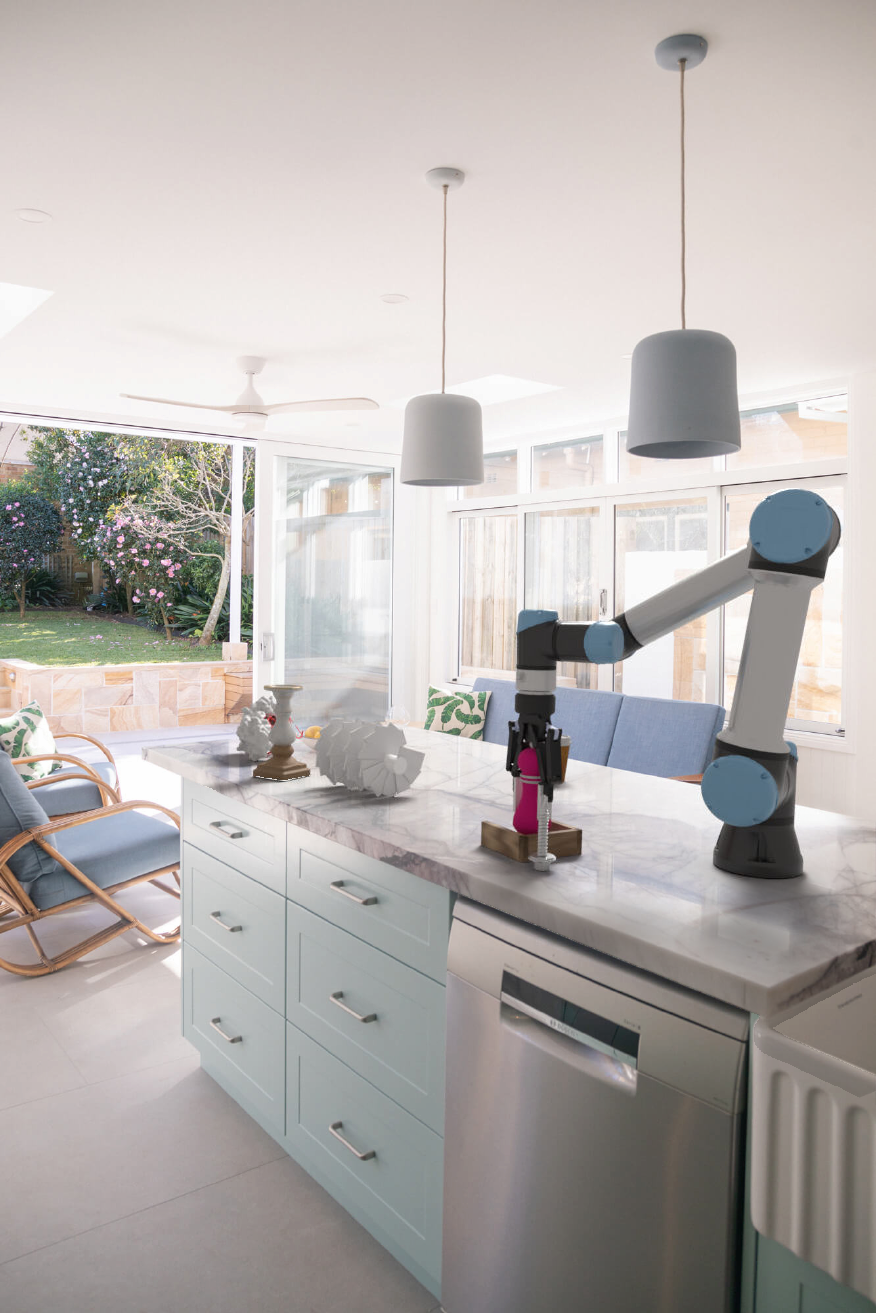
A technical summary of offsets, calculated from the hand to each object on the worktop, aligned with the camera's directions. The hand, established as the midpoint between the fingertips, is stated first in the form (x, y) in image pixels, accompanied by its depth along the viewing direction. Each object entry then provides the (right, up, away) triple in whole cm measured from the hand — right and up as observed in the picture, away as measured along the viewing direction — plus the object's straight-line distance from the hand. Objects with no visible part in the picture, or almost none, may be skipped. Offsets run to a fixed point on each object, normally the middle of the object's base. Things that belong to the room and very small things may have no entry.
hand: (531, 814), depth 166 cm
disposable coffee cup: (+13, -4, +72) cm, 73 cm away
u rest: (0, -6, 0) cm, 7 cm away
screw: (0, -7, -13) cm, 15 cm away
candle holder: (-59, -2, +68) cm, 90 cm away
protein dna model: (-69, -1, +99) cm, 121 cm away
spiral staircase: (-35, -4, +52) cm, 63 cm away
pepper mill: (0, -6, 0) cm, 6 cm away
